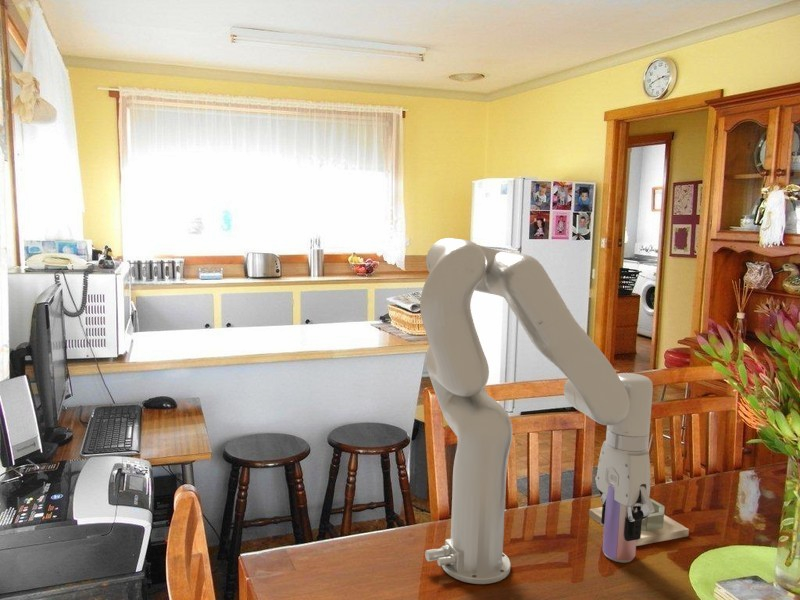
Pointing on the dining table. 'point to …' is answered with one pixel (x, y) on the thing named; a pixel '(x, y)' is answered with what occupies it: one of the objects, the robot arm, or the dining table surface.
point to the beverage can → (616, 530)
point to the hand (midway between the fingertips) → (620, 530)
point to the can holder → (652, 525)
